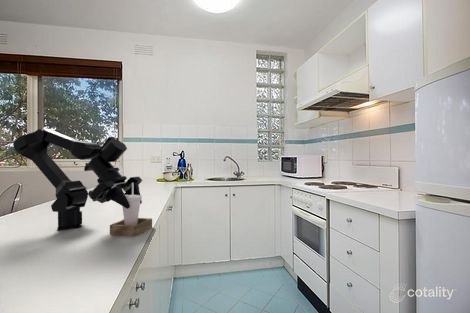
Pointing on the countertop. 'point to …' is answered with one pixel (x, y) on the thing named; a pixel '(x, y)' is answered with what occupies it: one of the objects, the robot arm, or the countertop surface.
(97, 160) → the robot arm
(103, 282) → the countertop surface
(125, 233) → the socket block
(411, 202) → the countertop surface
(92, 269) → the countertop surface
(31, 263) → the countertop surface
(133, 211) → the smoothie
